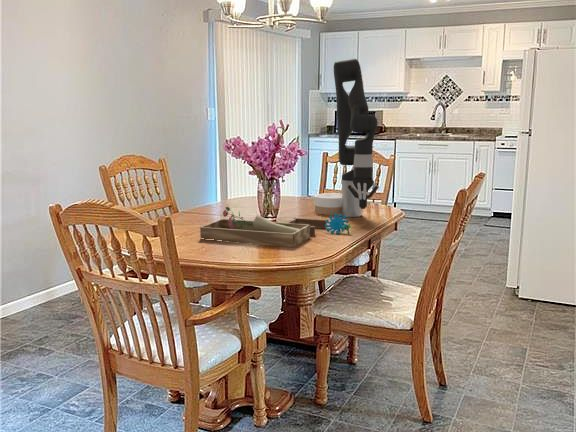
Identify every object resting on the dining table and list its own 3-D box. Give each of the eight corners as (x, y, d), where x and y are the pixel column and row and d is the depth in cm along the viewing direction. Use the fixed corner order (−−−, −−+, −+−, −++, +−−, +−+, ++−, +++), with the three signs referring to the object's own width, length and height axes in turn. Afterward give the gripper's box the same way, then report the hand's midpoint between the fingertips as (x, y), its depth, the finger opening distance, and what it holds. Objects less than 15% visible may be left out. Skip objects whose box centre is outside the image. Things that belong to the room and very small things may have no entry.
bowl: (350, 215, 277) (351, 198, 275) (315, 215, 277) (315, 198, 276) (348, 208, 294) (348, 192, 292) (314, 209, 294) (314, 193, 292)
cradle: (295, 225, 254) (295, 217, 253) (326, 227, 248) (326, 219, 248) (280, 233, 239) (280, 224, 238) (313, 235, 234) (313, 227, 233)
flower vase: (291, 261, 224) (213, 235, 235) (303, 245, 234) (227, 221, 244) (293, 235, 218) (213, 211, 229) (306, 220, 228) (228, 197, 238)
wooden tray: (222, 230, 247) (221, 218, 246) (310, 236, 231) (310, 224, 230) (199, 239, 230) (199, 227, 229) (293, 247, 214) (293, 234, 214)
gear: (320, 229, 238) (330, 210, 242) (323, 237, 242) (333, 218, 246) (344, 235, 232) (354, 215, 236) (347, 243, 237) (357, 223, 241)
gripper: (382, 165, 230) (381, 208, 233) (350, 164, 235) (349, 206, 238) (377, 166, 223) (376, 210, 226) (344, 166, 228) (344, 209, 231)
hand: (363, 208), depth 232 cm, fingers closed
